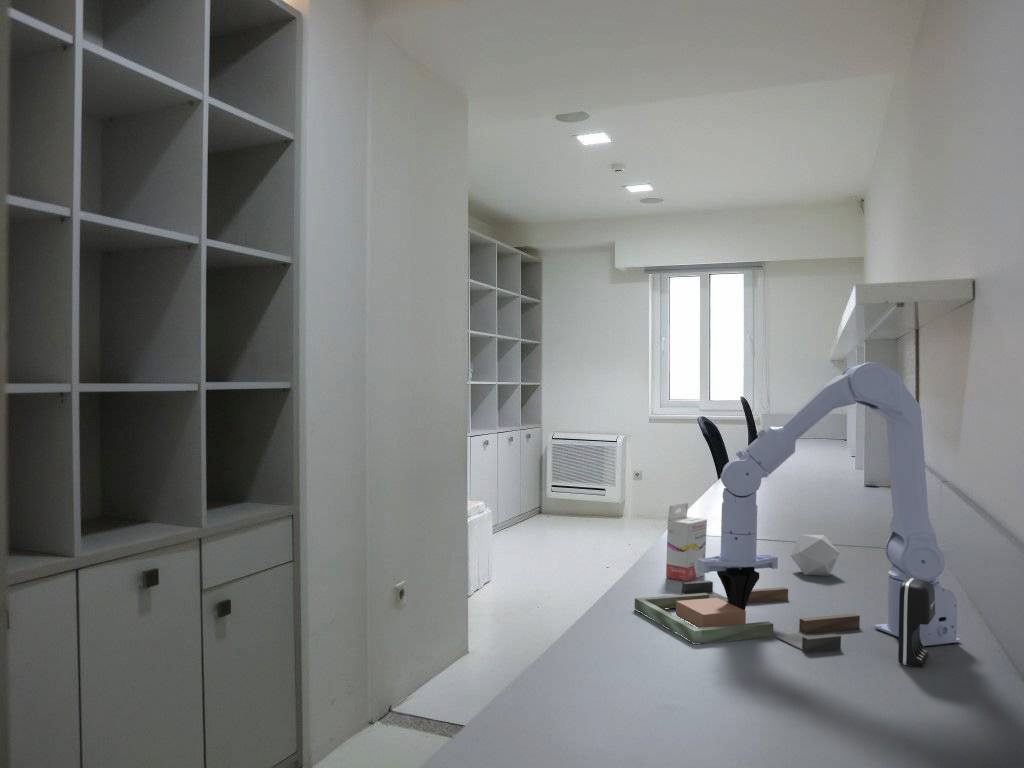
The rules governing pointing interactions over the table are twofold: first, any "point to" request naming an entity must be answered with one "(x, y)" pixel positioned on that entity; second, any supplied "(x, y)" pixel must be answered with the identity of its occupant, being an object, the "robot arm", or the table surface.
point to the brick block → (710, 612)
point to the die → (814, 554)
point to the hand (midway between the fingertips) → (737, 613)
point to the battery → (914, 620)
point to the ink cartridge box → (684, 544)
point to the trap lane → (749, 630)
